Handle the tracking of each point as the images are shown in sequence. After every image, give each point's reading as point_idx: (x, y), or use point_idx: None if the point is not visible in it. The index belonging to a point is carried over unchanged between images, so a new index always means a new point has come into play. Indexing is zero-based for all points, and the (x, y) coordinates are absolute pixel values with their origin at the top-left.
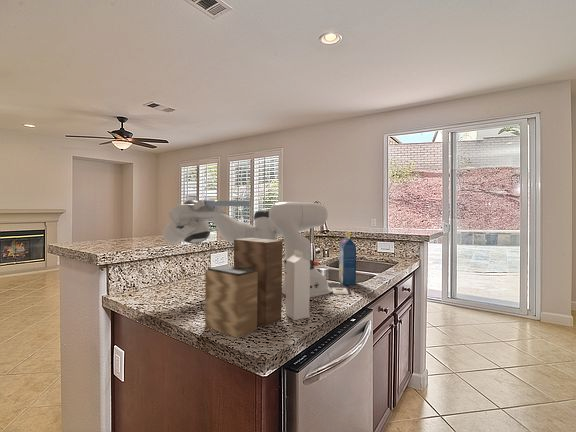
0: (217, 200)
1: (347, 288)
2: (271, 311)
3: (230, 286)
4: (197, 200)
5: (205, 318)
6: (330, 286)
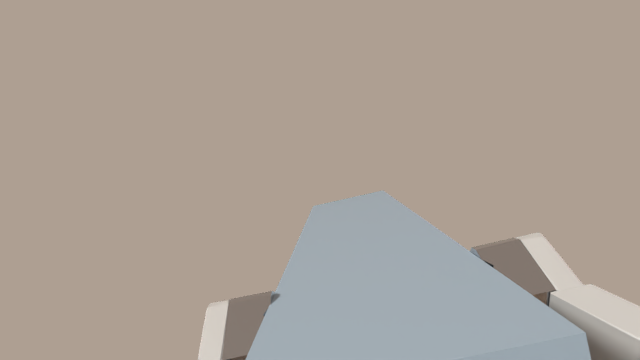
0: (210, 304)
1: None
2: None
3: None
4: (584, 334)
5: None
6: None
